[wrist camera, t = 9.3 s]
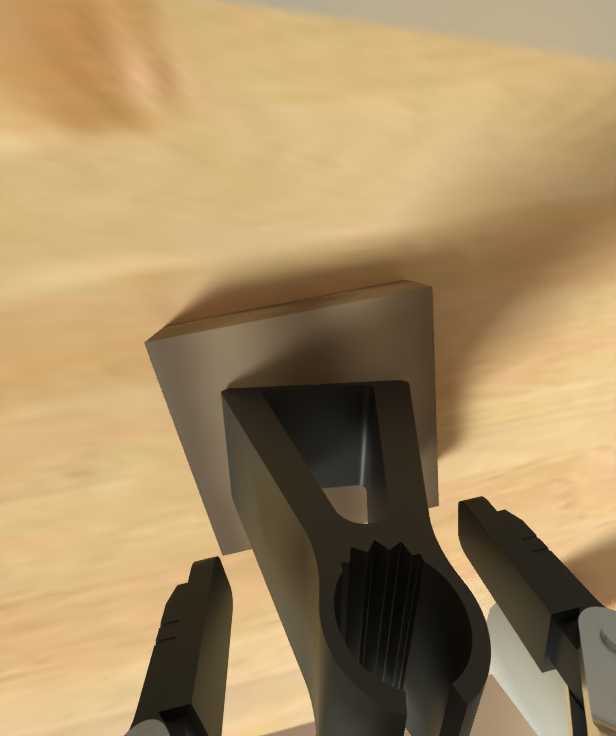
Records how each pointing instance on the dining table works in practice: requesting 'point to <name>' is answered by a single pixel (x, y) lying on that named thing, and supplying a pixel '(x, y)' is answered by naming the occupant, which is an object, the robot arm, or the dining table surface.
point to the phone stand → (356, 558)
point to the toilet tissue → (526, 679)
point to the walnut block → (295, 378)
